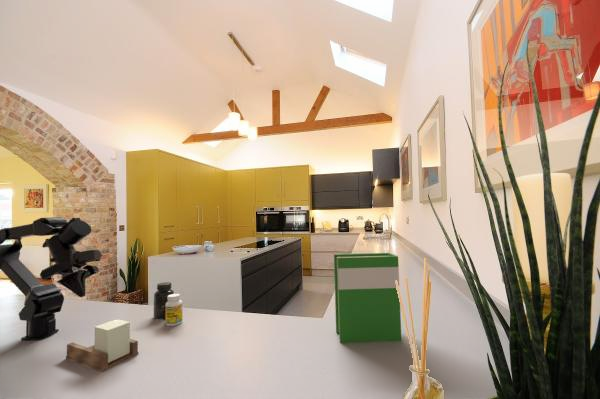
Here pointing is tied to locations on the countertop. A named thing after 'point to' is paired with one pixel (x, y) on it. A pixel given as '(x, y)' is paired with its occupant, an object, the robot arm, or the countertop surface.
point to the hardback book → (367, 297)
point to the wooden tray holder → (97, 356)
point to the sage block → (113, 339)
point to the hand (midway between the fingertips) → (83, 296)
